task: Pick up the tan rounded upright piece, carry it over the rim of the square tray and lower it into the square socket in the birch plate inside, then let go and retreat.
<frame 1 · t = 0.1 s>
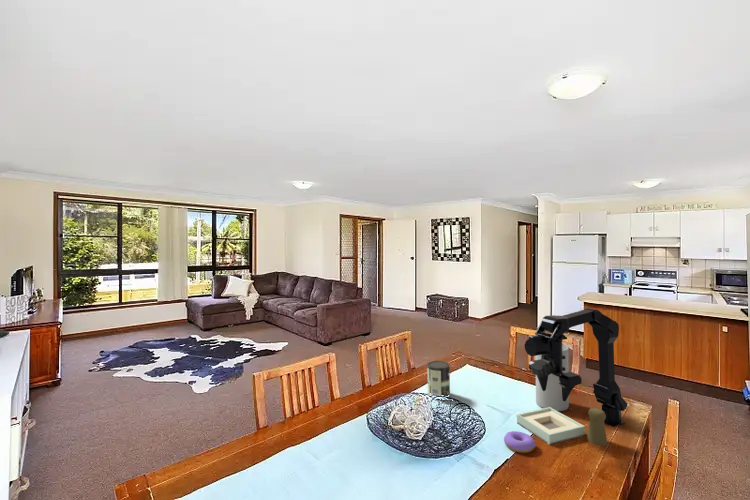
hand: (553, 395, 131), 15 cm above the table, fingers open, 9 cm apart
square tray: (549, 429, 136), on the table
donut: (519, 447, 126), on the table
coffee can: (438, 395, 168), on the table
cylinder vase: (552, 405, 156), on the table
tan rounded upright piece: (597, 441, 128), on the table
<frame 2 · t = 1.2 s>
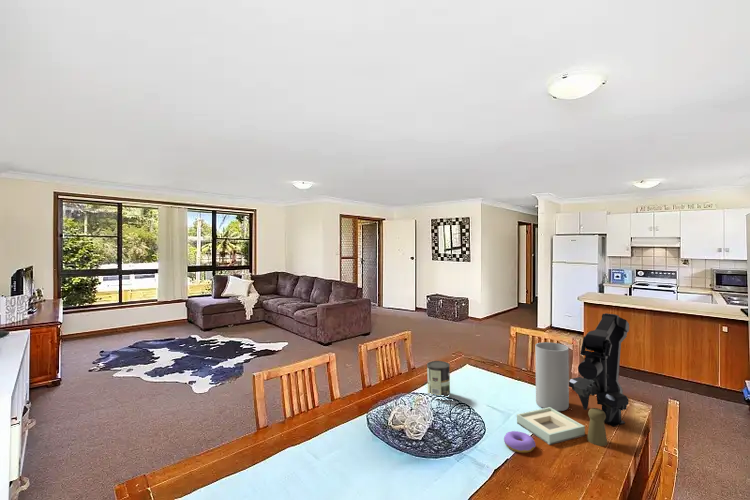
hand: (597, 415, 128), 9 cm above the table, fingers open, 9 cm apart
nothing on the table moved.
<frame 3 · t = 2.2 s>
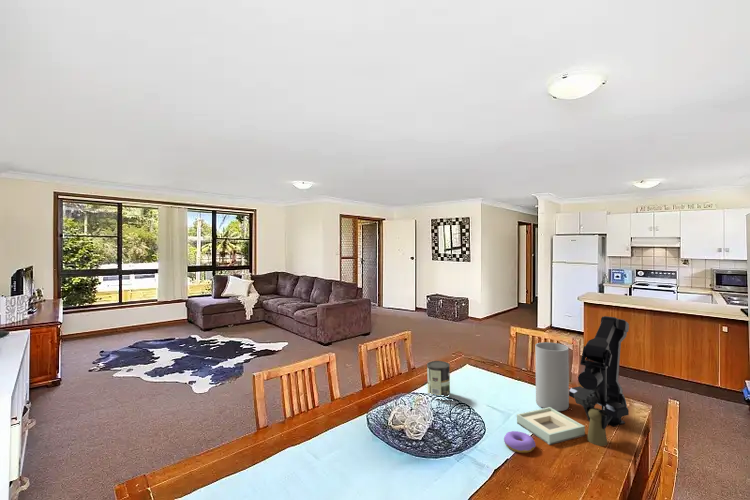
hand: (597, 425, 128), 6 cm above the table, fingers closed on tan rounded upright piece, 5 cm apart
tan rounded upright piece: (597, 441, 128), on the table, touching gripper
everything else where it was.
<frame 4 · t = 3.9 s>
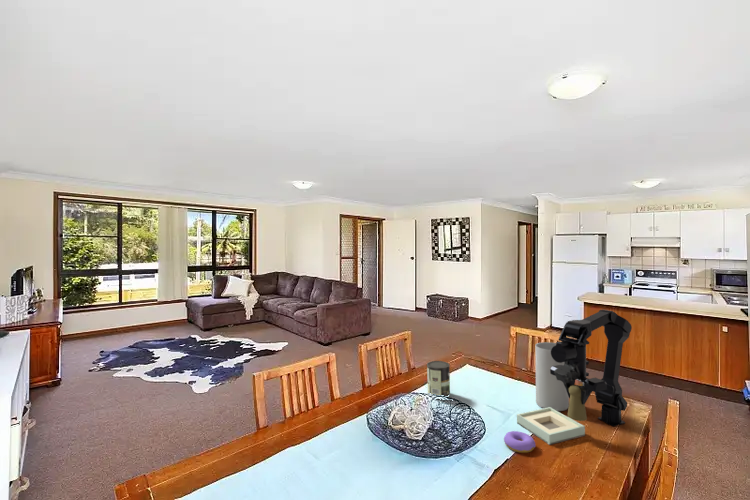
hand: (576, 401, 131), 13 cm above the table, fingers closed on tan rounded upright piece, 5 cm apart
tan rounded upright piece: (577, 417, 131), point 7 cm above the table, touching gripper
everything else where it was.
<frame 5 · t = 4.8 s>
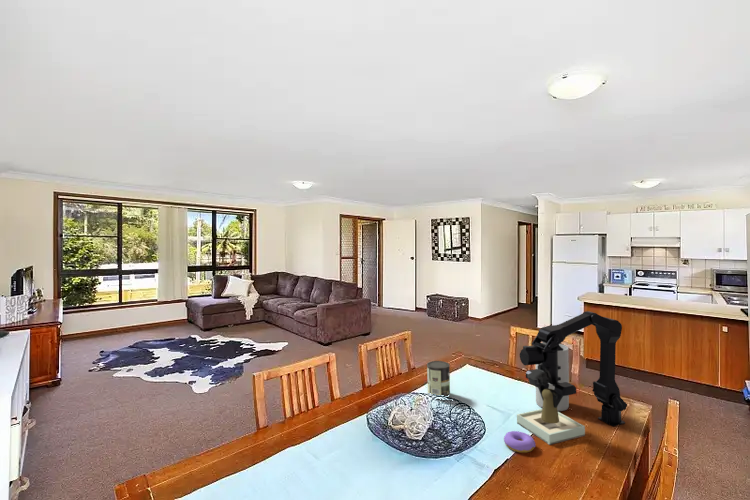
hand: (549, 404, 136), 9 cm above the table, fingers closed on tan rounded upright piece, 5 cm apart
tan rounded upright piece: (550, 419, 136), point 4 cm above the table, touching gripper
everything else where it was.
when the fingers open (7 cm above the table, at t = 5.6 s): tan rounded upright piece stays where it is, resting on square tray.
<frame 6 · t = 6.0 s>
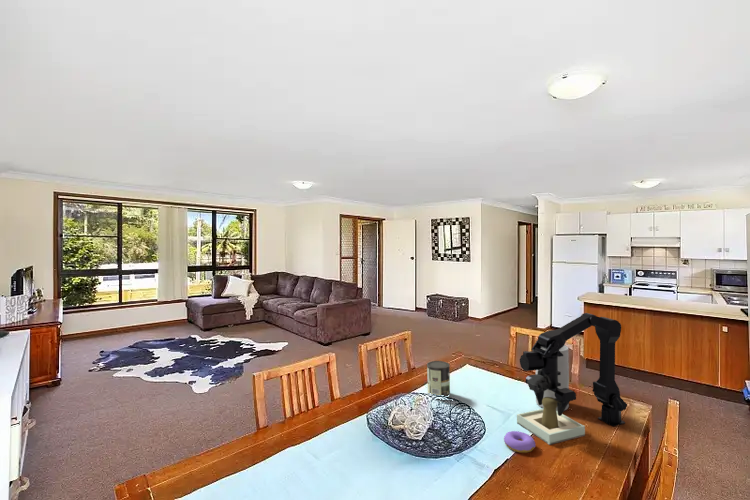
hand: (549, 410, 136), 7 cm above the table, fingers open, 9 cm apart
tan rounded upright piece: (549, 428, 136), resting on square tray
everything else where it was.
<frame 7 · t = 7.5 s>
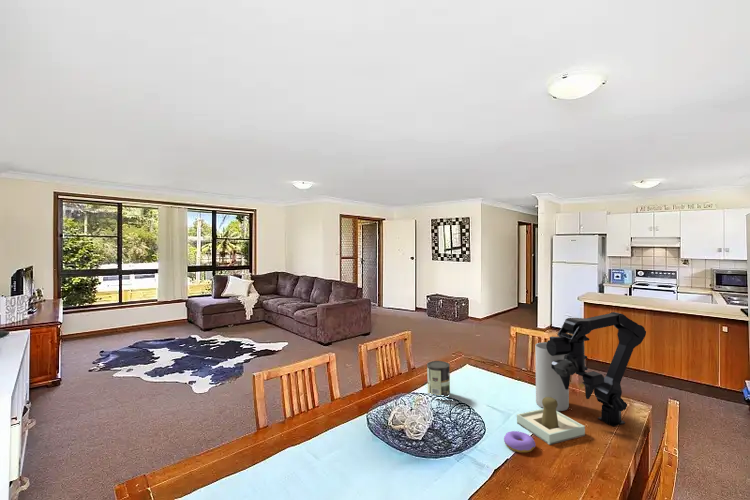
hand: (576, 393, 138), 12 cm above the table, fingers open, 9 cm apart
nothing on the table moved.
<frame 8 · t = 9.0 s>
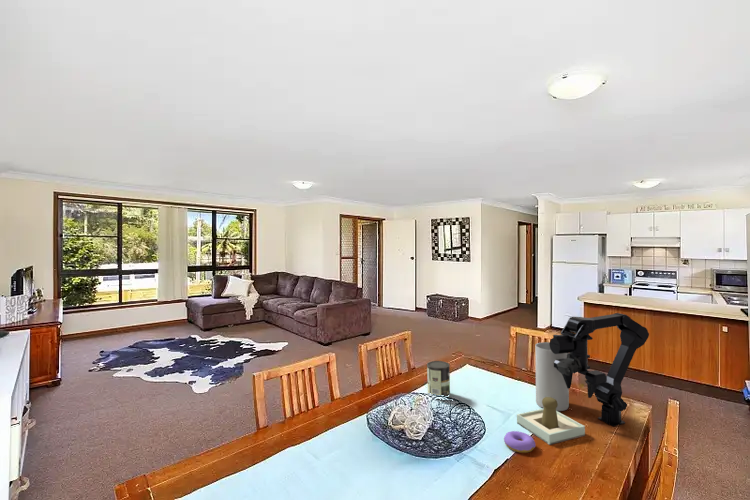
hand: (578, 392, 138), 13 cm above the table, fingers open, 9 cm apart
nothing on the table moved.
at the end: tan rounded upright piece 0.1 cm off-centre on the square tray, point 0.4 cm above the square tray's base; tan rounded upright piece tilted 0°; the gripper is holding nothing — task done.
